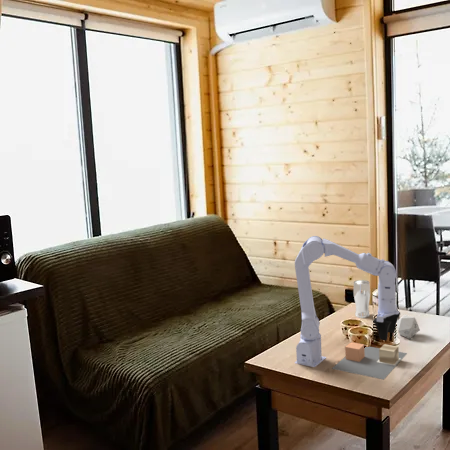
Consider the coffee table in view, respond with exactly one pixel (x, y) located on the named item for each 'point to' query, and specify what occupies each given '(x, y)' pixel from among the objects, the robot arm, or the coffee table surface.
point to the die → (407, 326)
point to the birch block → (388, 354)
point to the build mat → (368, 364)
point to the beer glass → (362, 298)
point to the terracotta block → (355, 351)
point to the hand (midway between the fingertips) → (387, 336)
